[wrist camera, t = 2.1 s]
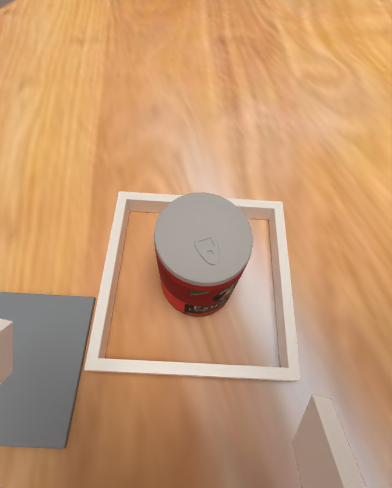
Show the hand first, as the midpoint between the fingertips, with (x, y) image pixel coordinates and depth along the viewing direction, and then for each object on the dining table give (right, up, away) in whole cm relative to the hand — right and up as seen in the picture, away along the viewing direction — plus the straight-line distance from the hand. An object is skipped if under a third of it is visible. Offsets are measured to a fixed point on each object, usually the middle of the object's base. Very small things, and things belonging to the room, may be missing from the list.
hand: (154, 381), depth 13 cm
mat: (-15, -5, +15) cm, 22 cm away
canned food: (+2, +2, +20) cm, 20 cm away
